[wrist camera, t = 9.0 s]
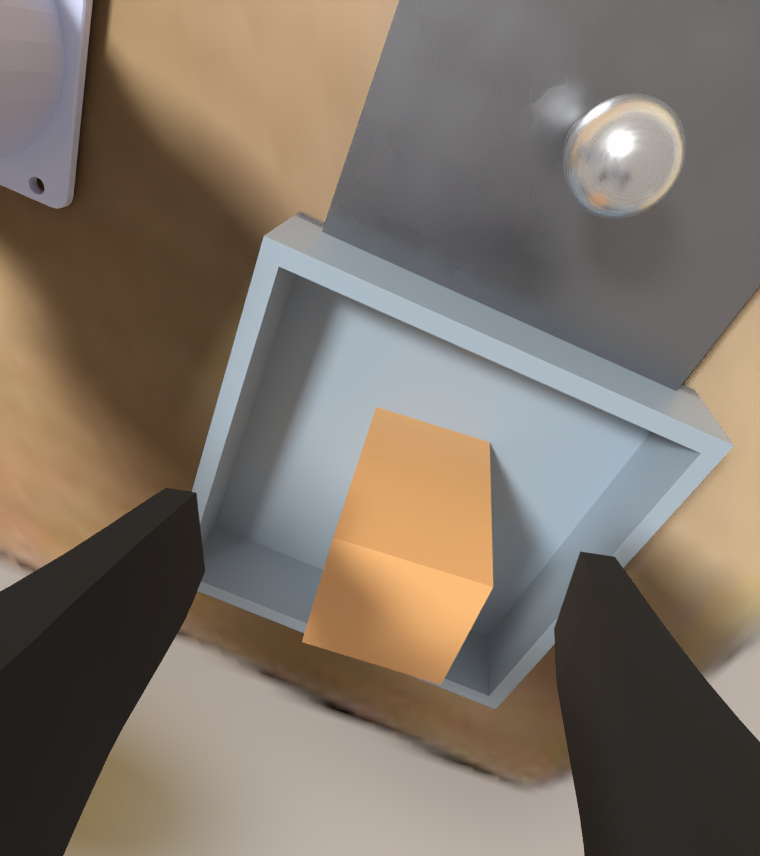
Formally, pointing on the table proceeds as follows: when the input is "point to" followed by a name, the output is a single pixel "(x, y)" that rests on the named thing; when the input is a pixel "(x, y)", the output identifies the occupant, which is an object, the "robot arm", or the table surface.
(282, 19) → the table surface
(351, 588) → the orange rectangular block
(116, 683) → the robot arm
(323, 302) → the slate bin
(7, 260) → the table surface
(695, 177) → the stud plate
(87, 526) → the table surface
